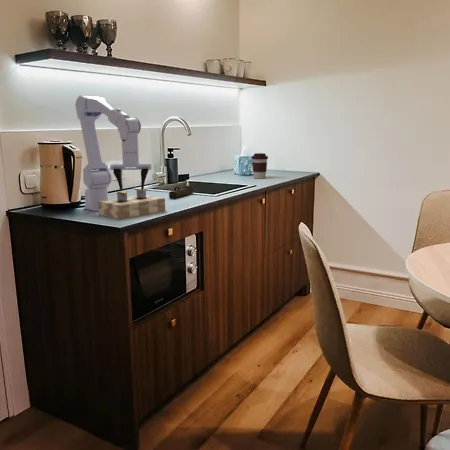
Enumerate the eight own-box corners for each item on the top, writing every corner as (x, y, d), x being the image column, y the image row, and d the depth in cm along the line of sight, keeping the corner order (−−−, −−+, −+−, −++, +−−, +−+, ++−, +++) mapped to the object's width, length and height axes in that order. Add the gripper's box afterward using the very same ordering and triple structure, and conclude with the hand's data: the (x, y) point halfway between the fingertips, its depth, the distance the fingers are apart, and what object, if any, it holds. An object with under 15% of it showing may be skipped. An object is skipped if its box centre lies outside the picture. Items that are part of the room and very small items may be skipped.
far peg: (135, 200, 184) (134, 189, 183) (142, 199, 186) (141, 188, 186) (140, 201, 182) (140, 190, 181) (148, 200, 184) (147, 189, 183)
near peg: (115, 203, 177) (115, 192, 176) (123, 202, 180) (123, 191, 179) (121, 205, 175) (120, 193, 174) (129, 203, 178) (128, 191, 177)
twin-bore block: (99, 214, 179) (98, 201, 178) (143, 206, 194) (142, 194, 193) (120, 219, 169) (120, 205, 168) (165, 210, 185) (164, 198, 184)
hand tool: (176, 200, 212) (175, 189, 211) (168, 199, 214) (168, 189, 213) (197, 194, 228) (197, 184, 227) (190, 193, 230) (190, 184, 229)
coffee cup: (248, 177, 290) (248, 153, 287) (262, 177, 294) (262, 152, 291) (256, 179, 281) (256, 154, 278) (270, 178, 285) (271, 153, 282)
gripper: (108, 153, 165) (110, 191, 168) (149, 152, 166) (151, 190, 169) (111, 151, 171) (113, 188, 174) (151, 151, 173) (152, 188, 176)
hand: (131, 189), depth 172 cm, fingers open, 7 cm apart
